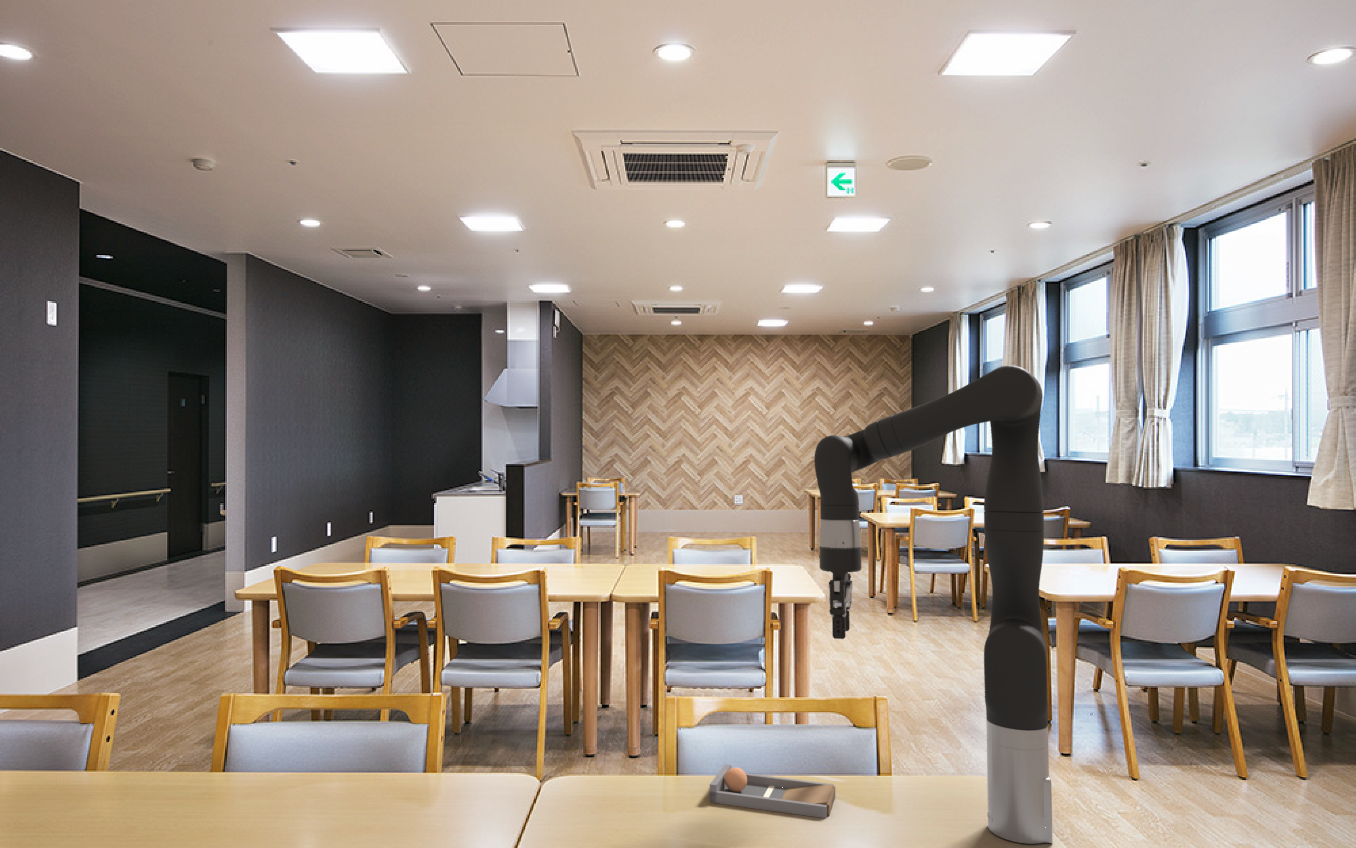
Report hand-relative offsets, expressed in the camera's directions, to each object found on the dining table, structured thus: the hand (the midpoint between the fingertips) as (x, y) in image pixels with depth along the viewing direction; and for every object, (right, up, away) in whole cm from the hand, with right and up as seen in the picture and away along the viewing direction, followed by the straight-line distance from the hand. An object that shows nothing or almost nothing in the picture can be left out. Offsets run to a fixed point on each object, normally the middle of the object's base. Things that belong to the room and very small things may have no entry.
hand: (841, 634), depth 146 cm
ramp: (-7, -27, -7) cm, 29 cm away
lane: (-13, -28, -5) cm, 31 cm away
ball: (-19, -25, -3) cm, 32 cm away
